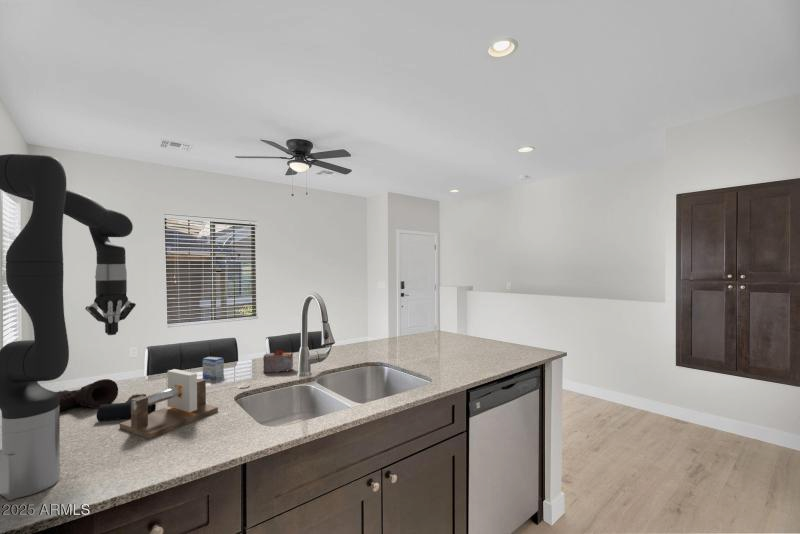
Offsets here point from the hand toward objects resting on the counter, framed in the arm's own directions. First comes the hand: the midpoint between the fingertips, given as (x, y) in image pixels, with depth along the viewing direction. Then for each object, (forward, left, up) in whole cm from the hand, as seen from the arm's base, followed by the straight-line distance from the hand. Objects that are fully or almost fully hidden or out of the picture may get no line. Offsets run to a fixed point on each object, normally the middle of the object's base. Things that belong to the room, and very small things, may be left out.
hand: (111, 334), depth 112 cm
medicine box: (+48, +19, -29) cm, 59 cm away
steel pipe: (+12, -10, -22) cm, 27 cm away
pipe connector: (+9, +7, -30) cm, 32 cm away
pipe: (+5, +30, -29) cm, 42 cm away
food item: (+68, -1, -29) cm, 74 cm away
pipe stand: (+12, -10, -29) cm, 33 cm away
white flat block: (+16, -10, -27) cm, 32 cm away
